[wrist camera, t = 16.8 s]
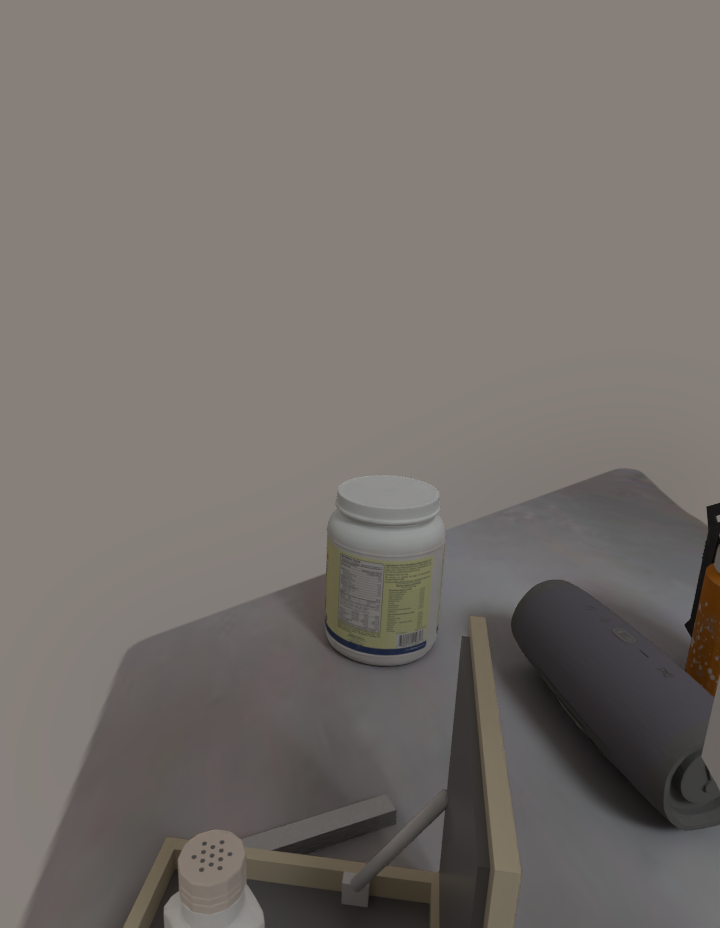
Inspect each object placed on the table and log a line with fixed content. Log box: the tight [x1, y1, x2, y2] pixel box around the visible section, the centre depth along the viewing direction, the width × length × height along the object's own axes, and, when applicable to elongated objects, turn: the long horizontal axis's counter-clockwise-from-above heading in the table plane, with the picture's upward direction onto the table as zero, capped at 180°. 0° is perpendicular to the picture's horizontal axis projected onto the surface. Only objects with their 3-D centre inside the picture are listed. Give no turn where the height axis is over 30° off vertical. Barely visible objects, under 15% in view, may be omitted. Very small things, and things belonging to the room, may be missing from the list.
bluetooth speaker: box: [511, 580, 720, 830], centre depth 55 cm, size 23×9×10 cm, turn 14°
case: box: [123, 616, 521, 928], centre depth 31 cm, size 16×18×20 cm
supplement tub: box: [324, 475, 446, 666], centre depth 68 cm, size 12×12×17 cm
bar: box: [241, 794, 397, 855], centre depth 45 cm, size 12×2×2 cm, turn 114°
